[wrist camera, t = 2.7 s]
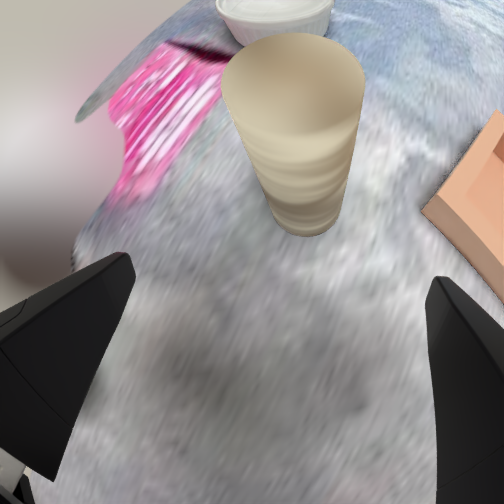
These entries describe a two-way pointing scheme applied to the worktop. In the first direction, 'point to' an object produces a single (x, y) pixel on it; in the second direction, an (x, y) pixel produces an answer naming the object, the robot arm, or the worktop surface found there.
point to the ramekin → (274, 17)
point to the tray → (476, 204)
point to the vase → (297, 123)
